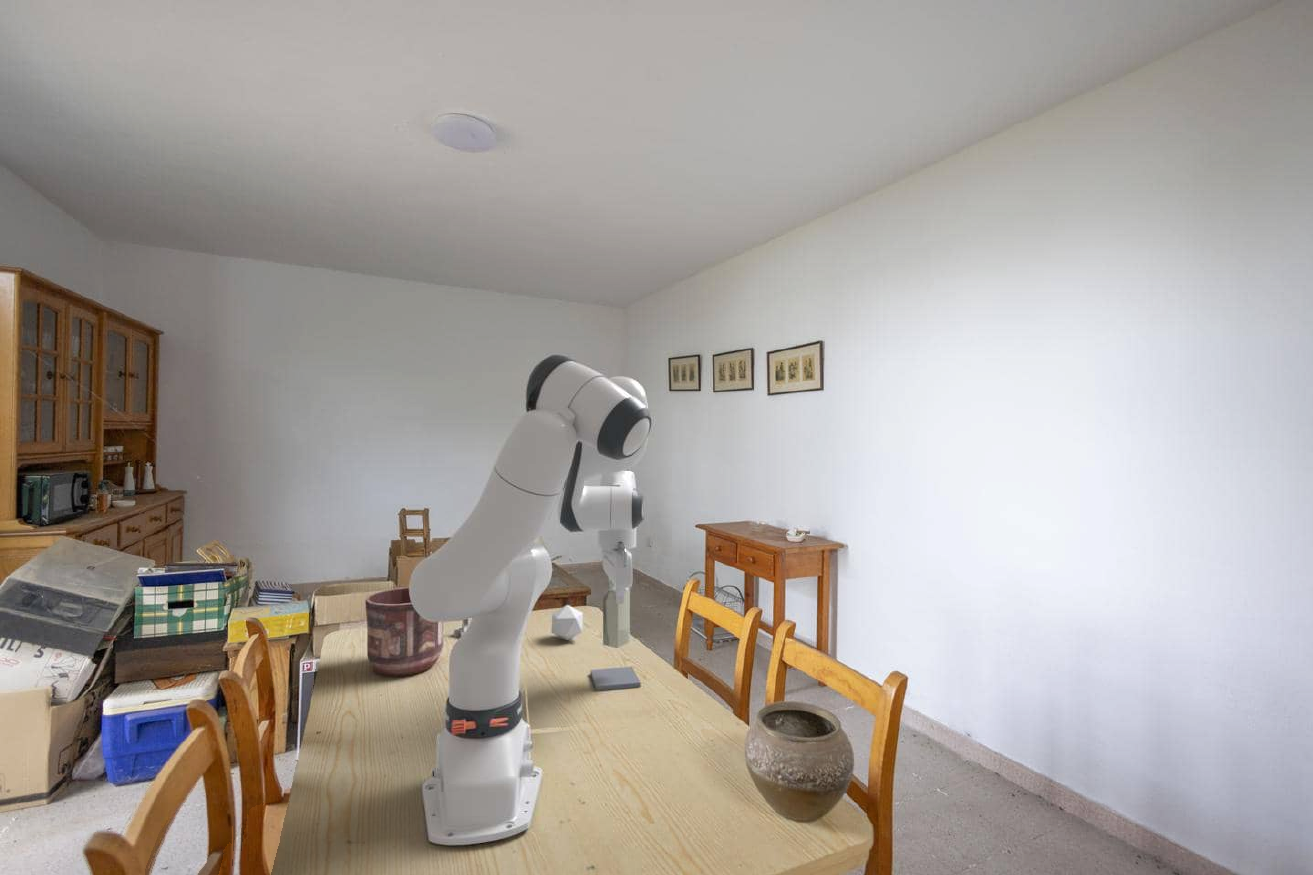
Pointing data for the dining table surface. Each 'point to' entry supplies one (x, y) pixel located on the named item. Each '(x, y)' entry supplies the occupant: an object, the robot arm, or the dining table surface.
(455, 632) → the house of cards
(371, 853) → the dining table surface
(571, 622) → the die
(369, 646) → the pottery
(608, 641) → the box
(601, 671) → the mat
